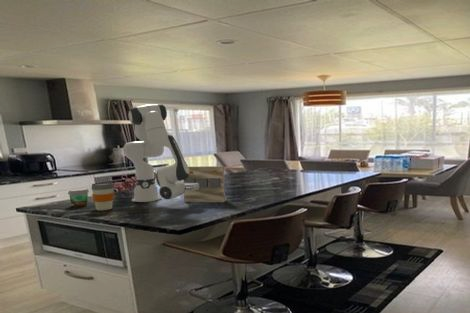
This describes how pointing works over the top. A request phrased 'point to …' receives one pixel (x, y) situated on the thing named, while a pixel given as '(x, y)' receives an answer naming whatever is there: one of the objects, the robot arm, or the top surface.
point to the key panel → (208, 192)
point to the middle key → (203, 182)
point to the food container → (78, 197)
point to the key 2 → (215, 182)
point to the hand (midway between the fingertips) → (186, 184)
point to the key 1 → (190, 180)
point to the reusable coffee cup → (103, 195)
